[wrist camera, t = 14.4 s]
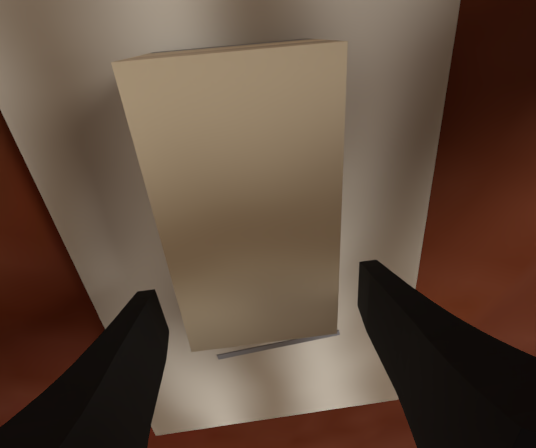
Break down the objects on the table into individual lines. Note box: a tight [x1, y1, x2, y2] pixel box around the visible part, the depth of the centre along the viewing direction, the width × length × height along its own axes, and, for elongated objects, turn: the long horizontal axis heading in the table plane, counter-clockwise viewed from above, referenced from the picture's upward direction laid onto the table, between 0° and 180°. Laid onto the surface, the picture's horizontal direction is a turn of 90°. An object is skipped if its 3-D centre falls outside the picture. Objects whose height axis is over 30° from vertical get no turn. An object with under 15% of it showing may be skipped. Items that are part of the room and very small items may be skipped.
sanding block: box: [111, 38, 348, 352], centre depth 10 cm, size 8×4×4 cm, turn 5°
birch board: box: [0, 0, 461, 436], centre depth 14 cm, size 14×22×1 cm, turn 6°
